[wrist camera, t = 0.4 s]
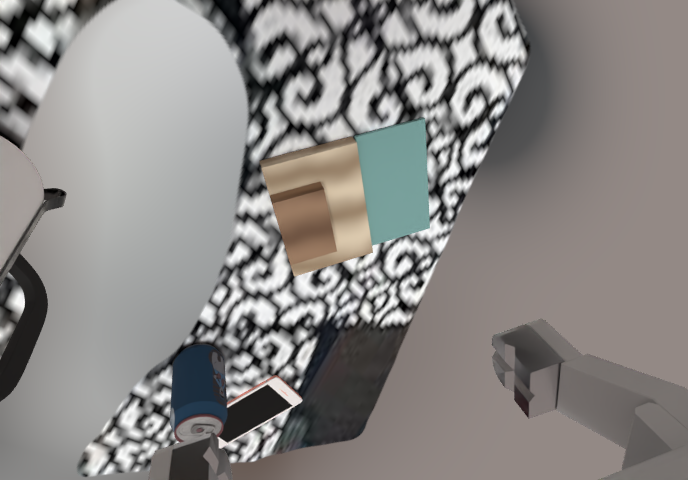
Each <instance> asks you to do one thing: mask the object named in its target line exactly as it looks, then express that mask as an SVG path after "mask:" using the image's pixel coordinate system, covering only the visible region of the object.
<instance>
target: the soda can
mask: <svg viewBox="0 0 688 480" xmlns="http://www.w3.org/2000/svg"><path fill="white" fill-rule="evenodd" d="M227 415H228V414H227V397H226V381H225V364H224V358H223V356H222V354H221V353H220V352H219V351H218V350H217V349H216V348H215V347H213V346H211V345H208V344H194V345H191V346H189V347H187V348H185V349H184V350H183V351H182V352H181V353H180V354H179V355H178V356H177V357H176V359H175V361H174V363H173V376H172V394H171V411H170V425H171V428H172V429H173V431H174V435H175V438H176V439H177V441H179V442H184V441H187V440H190V439H193V438H196V437H199V436H203V435H206V434H209V433H215V435H216V436H217V437H218V436H219V435H220V434H221V433H222V431H223V425H224V424H225V422H226V419H227Z"/></svg>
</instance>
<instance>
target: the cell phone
mask: <svg viewBox="0 0 688 480" xmlns="http://www.w3.org/2000/svg"><path fill="white" fill-rule="evenodd" d="M301 402H302V397H301V396H300V395H299V394H298V393H296V392H295V391H294V390H293V389H292V388H291V387H290V386H289V385H288V384H287V383H286V382H284V381H283V380H282V379H281V378H280V377H279V376H277V375H275V376H273V377H271V378H269V379H267V380H266V381H264V382H262V383H260V384H259V385H257V386H255V387H253V388H252V389H250V390H248V391H247V392H245V393H243V394H241V395H240V396H238V397H236V398H234V399H233V400H231V401H229V402H227V414H228V415H227V419H226V422H225V424H224V425H223V431H222V433H221V434H220V435H219V436H218V437H217V438H218V439H219V448H222V447H224V446H226V445H227V444H229V443H231V442H233V441H234V440H236V439H238V438H240V437H242V436H243V435H245V434H247V433H249V432H250V431H252V430H254V429H256V428H257V427H259V426H261V425H263V424H264V423H266V422H268V421H270V420H271V419H273V418H275V417H277V416H278V415H280V414H282V413H284V412H285V411H287V410H289V409H291V408H292V407H294V406H296V405H298V404H299V403H301Z"/></svg>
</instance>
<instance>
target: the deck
mask: <svg viewBox="0 0 688 480" xmlns="http://www.w3.org/2000/svg"><path fill="white" fill-rule="evenodd" d="M260 165H261V168H262V171H263V175H264V178H265V181H266V185H267V188H268V191H269V195H273V194H277V193H280V192H284V191H288V190H291V189H295V188H298V187H302V186H306V185H309V184H313V183H316V182H321V184H322V186H323V188H324V191H325V196H326V201H327V205H328V210H329V215H330V220H331V224H332V229H333V234H334V238H335V243H336V248H337V252H333V253H330V254H327V255H323V256H320V257H317V258H313V259H310V260H307V261H303V262H300V263H297V264H293V265H291V268H292V271H293V274H294V276H297V275H301V274H304V273H307V272H311V271H314V270H317V269H320V268H324V267H327V266H330V265H333V264H337V263H340V262H343V261H347V260H350V259H353V258H356V257H360V256H363V255H366V254H370V253H373V250H372V243H371V236H370V229H369V223H368V216H367V209H366V202H365V195H364V189H363V182H362V175H361V168H360V162H359V155H358V148H357V142H356V141H355V140H354V139H353V137H352V136H351V137H348V138H344V139H340V140H336V141H333V142H329V143H325V144H321V145H317V146H314V147H310V148H306V149H302V150H299V151H295V152H291V153H287V154H284V155H280V156H276V157H272V158H268V159H265V160H261V161H260Z"/></svg>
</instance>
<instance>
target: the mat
mask: <svg viewBox="0 0 688 480" xmlns="http://www.w3.org/2000/svg"><path fill="white" fill-rule="evenodd" d="M354 139H355V141H356V142H357V148H358V155H359V162H360V168H361V175H362V182H363V189H364V195H365V202H366V209H367V216H368V223H369V229H370V236H371V243H372V245H375V244H379V243H382V242H385V241H389V240H392V239H395V238H398V237H402V236H405V235H408V234H412V233H415V232H418V231H422V230H425V229H428V228H430V224H429V201H428V177H427V154H426V131H425V118H419V119H416V120H412V121H408V122H404V123H400V124H397V125H393V126H389V127H385V128H382V129H378V130H374V131H370V132H366V133H363V134H359V135H355V136H354Z"/></svg>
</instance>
